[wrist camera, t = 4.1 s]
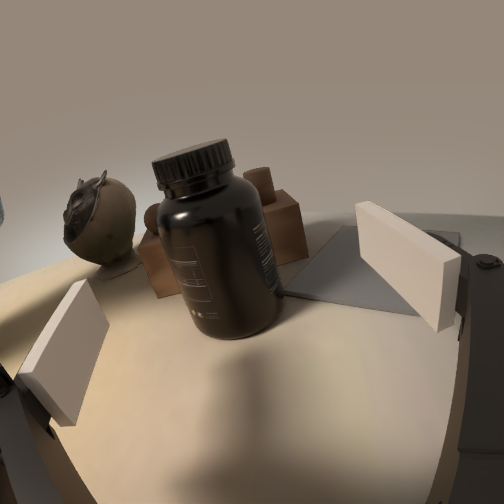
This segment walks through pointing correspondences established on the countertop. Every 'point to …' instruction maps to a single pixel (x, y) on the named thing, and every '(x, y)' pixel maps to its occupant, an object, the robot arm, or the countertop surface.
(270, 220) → the plane body block
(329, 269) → the slate mat
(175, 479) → the countertop surface
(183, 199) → the supplement bottle
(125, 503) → the countertop surface
